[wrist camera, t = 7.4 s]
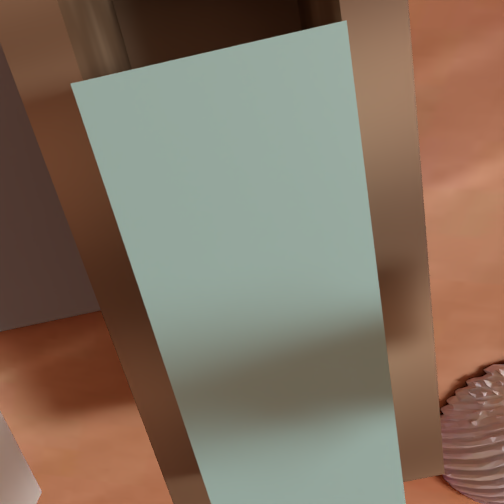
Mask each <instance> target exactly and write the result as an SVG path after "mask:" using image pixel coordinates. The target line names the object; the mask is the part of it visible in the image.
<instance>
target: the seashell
mask: <svg viewBox="0 0 504 504" xmlns="http://www.w3.org/2000/svg"><path fill="white" fill-rule="evenodd" d="M483 370H484V371H485V372H486V373H488V374H486V375H484V376H482V377H475V378H471V379H469V380H467V381H466V383H467V385H468V386H467V387H464V388H460V389H457V390H456V391H455V394H456V396H451V397H450V398H448V399H447V400H446V401H447V402H448V403H449V405H446V406H444V407H442V408H441V409H440V410H441V411H442V412H443V414H444V415H440V421H441V434H442V447H443V460H444V473H445V474H442V475H443V477H444V479H445V480H446V481H447V482H449V484H450V485H451V486H452V487H453V488H455V489H456V490H458V491H459V492H461V493H462V494H464V495H465V496H467V497H469V498H472V499H473V500H474V501H476V502H479V503H483V504H504V364H493V365H491V366H489V367H487V368H485V369H483Z"/></svg>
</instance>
